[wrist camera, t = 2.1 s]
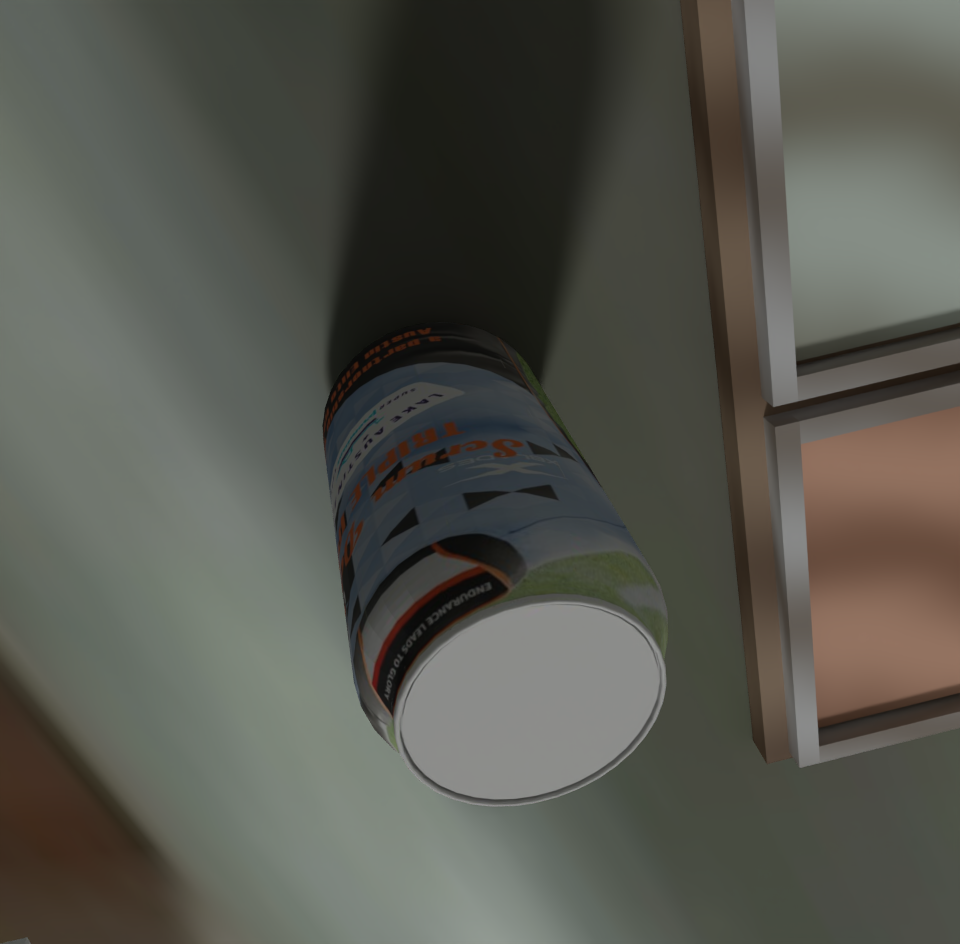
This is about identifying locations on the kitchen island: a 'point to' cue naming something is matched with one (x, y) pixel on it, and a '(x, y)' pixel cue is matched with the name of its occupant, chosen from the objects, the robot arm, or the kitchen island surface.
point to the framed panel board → (836, 356)
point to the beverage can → (485, 573)
